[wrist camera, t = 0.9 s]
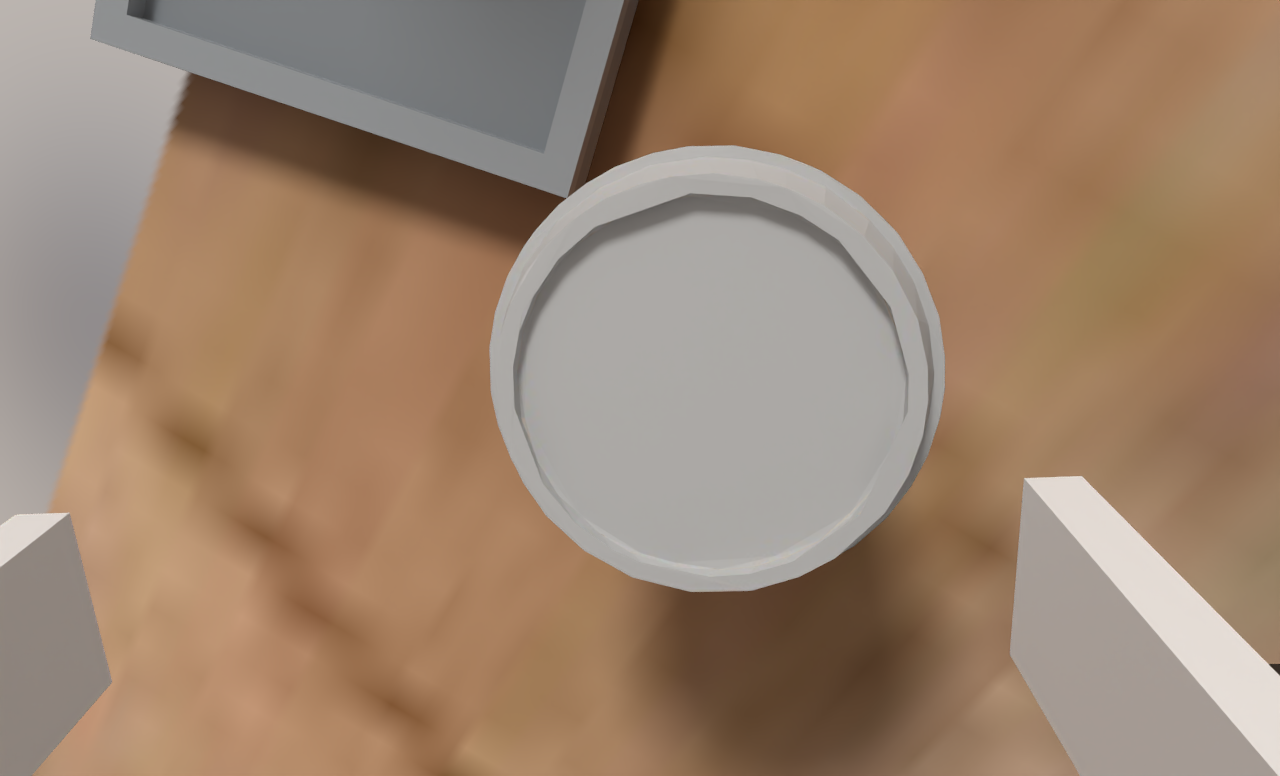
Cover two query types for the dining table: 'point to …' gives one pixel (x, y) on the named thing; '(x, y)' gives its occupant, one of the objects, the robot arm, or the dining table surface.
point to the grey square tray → (409, 69)
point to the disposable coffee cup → (716, 368)
